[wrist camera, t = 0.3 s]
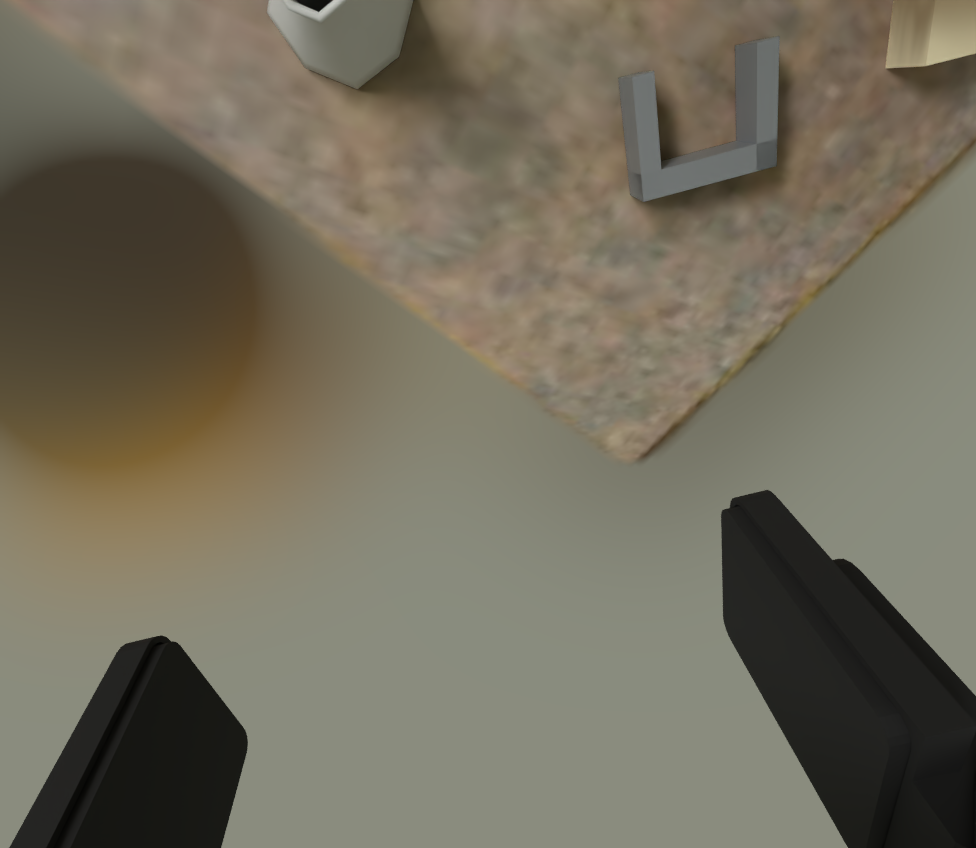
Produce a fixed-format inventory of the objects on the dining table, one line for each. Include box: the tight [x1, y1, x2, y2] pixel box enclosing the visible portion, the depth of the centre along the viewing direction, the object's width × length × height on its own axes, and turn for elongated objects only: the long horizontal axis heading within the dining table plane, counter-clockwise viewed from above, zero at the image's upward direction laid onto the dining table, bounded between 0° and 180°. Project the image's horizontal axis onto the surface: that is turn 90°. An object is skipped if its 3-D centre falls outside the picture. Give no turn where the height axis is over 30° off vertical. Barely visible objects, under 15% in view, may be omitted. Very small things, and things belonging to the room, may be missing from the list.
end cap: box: [618, 36, 779, 202], centre depth 33 cm, size 6×8×2 cm
